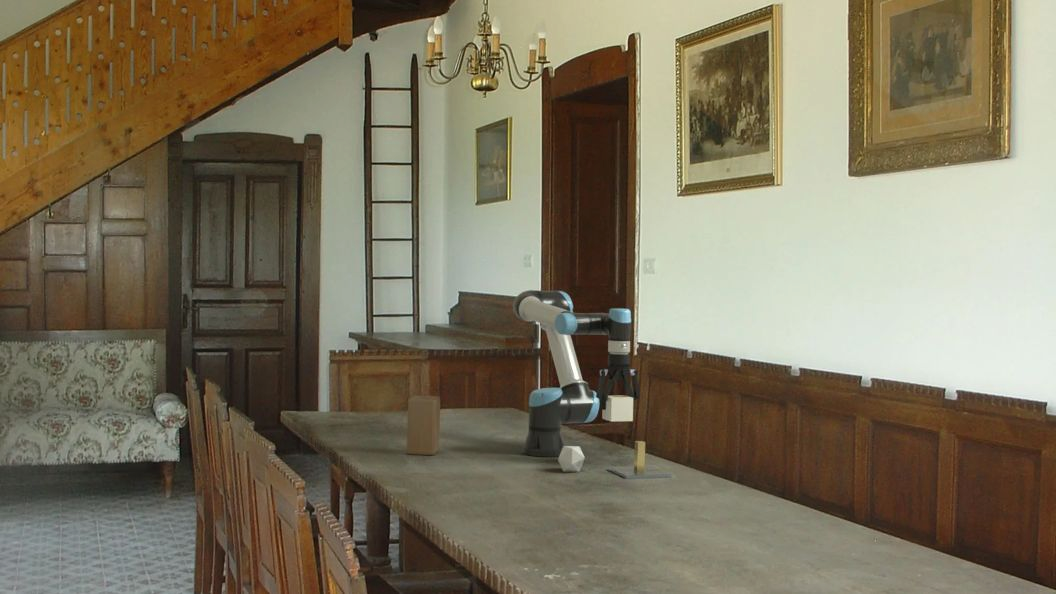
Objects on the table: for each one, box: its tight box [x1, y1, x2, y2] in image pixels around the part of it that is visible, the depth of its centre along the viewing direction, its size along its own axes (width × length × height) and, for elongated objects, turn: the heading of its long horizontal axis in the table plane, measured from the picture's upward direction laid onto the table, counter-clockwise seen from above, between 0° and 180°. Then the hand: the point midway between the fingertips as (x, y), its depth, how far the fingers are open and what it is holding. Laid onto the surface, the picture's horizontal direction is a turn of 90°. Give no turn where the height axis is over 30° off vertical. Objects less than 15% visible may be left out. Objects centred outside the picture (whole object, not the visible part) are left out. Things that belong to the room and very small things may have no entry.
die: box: [557, 445, 585, 473], centre depth 364 cm, size 8×9×10 cm
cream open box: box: [601, 395, 634, 423], centre depth 379 cm, size 8×8×8 cm
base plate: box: [607, 440, 673, 480], centre depth 363 cm, size 16×16×10 cm
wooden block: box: [406, 394, 441, 456], centre depth 390 cm, size 10×10×20 cm
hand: (617, 419), depth 379 cm, fingers closed on cream open box, 8 cm apart
